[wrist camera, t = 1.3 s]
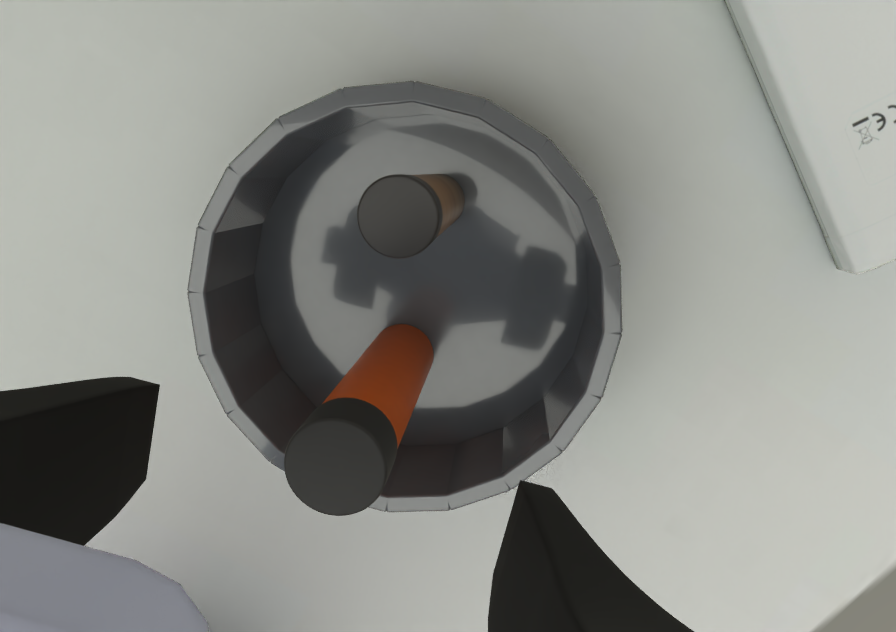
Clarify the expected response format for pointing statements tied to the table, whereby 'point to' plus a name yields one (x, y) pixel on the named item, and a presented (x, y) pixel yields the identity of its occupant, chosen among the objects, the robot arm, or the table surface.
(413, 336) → the marker
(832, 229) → the hard drive
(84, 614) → the robot arm
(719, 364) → the table surface
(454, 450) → the pot
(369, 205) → the brown slender rod
